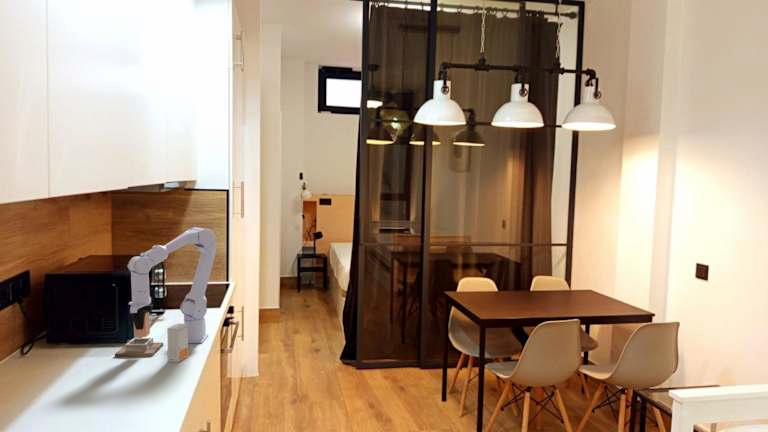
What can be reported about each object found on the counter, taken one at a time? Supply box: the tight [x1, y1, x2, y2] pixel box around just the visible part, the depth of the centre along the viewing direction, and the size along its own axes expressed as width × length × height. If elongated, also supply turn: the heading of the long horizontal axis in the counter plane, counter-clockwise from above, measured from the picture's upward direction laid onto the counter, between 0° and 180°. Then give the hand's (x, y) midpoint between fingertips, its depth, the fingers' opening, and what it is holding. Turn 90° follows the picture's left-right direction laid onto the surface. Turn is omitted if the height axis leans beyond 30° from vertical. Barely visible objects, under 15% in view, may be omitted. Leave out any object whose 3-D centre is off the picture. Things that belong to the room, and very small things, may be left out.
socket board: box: [114, 337, 164, 358], centre depth 188 cm, size 11×13×4 cm
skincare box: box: [166, 322, 189, 363], centre depth 180 cm, size 6×4×12 cm
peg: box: [133, 312, 151, 338], centre depth 185 cm, size 4×4×8 cm
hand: (142, 327), depth 185 cm, fingers closed on peg, 4 cm apart
